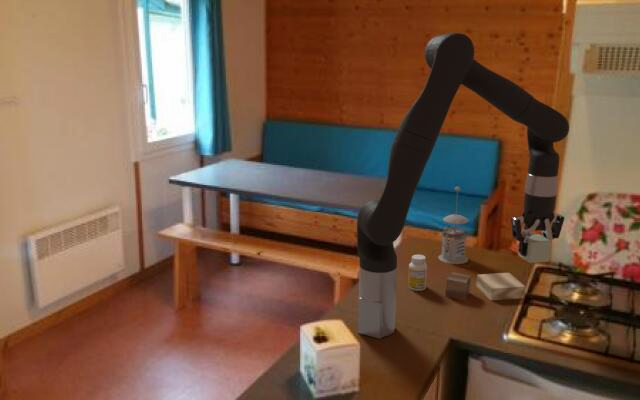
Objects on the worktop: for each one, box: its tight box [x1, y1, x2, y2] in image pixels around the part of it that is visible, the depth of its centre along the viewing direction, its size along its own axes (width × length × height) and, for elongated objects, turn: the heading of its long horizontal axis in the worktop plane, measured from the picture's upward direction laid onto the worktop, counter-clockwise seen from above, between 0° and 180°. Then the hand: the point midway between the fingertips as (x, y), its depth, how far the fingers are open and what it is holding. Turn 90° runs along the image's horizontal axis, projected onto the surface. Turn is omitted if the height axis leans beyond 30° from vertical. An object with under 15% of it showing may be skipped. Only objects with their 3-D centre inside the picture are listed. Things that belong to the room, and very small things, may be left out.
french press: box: [438, 186, 469, 265], centre depth 187 cm, size 10×12×25 cm
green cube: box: [517, 233, 552, 264], centre depth 147 cm, size 6×6×6 cm
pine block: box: [475, 272, 526, 301], centre depth 166 cm, size 10×10×4 cm
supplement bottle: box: [407, 254, 428, 292], centre depth 168 cm, size 5×5×10 cm
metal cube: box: [445, 271, 472, 301], centre depth 164 cm, size 6×6×6 cm
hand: (533, 254), depth 147 cm, fingers closed on green cube, 5 cm apart
